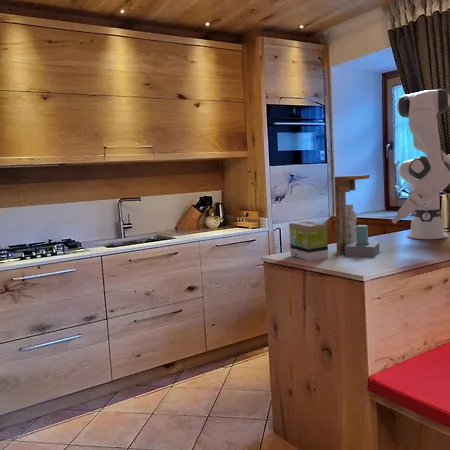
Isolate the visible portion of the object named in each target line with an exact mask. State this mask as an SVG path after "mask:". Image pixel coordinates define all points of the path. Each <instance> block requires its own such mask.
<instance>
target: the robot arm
mask: <svg viewBox="0 0 450 450" xmlns="http://www.w3.org/2000/svg"><path fill="white" fill-rule="evenodd" d="M396 107H397V108H396V109H397V113H398V114H399V116H400V117H402V118H404V119H405V118H407V119H408V127H409V130H410V132H411V133H410V134H412V141H413V142H412V143H413V148H414V149H415V150H417V151H419V152H422V153H424V154H425V156H424V155H420V156H417V157H415V158H413V159H408V160H407V159H406V160H404V161H403V162H401V164H400V166H399V169H398V170H399V171H398V172H399V176H400V178H401V179H402V180H403V181H404V182H406V183H407V184H408V185H409V186H410V187H411V189H410V190H409V191H408V196H407V199H406V200H405V202H404V203H403V204H402V206H401V207H400V208H399V209H398V211H397V213H396V215H395V217H394V218H393V219H392V220H391V223H393V225H395V224H396V223H398V222H399V221H400V220H401V219H403V220H404V219H406V218H408V217H409V216H410V215H411V214H412V213H413V216H414V218H413V219H412V220H410V233H409V234H407V236H406V237H407V238H411V239H416V240H441V239H449V238H450V237H449V235H448V234H447V233H446V232H445V230H446V229H445V221H444V220H443V218H442V217H441V214H442V212H441V211H442V210H441V208H440V202H441V201H440V193H442V192H443V190H445V189H446V188H447V187H448V186H449V185H450V157H449V156H448V155H447V154H446V153H445V152H444V150H443V148H442V141H441V139H440V133H439V129H438V128H439V127H438V126H439V123H438V118H437V114H438V115H439V116H441V114H443V113H445V112H446V111H447V110H448V109H449V107H450V94H449V91H448V90H446V89H443V88H438V89H430V90H423V91H418V92H414V93H410V94H404V95H402V96H400V97H399V98H398V100H397V105H396Z"/></svg>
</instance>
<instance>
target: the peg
mask: <svg viewBox="0 0 450 450" xmlns="http://www.w3.org/2000/svg"><path fill="white" fill-rule="evenodd" d="M356 239H357V245H368V242H369V225H368V224H367V225H366V224H358V225H356Z"/></svg>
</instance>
